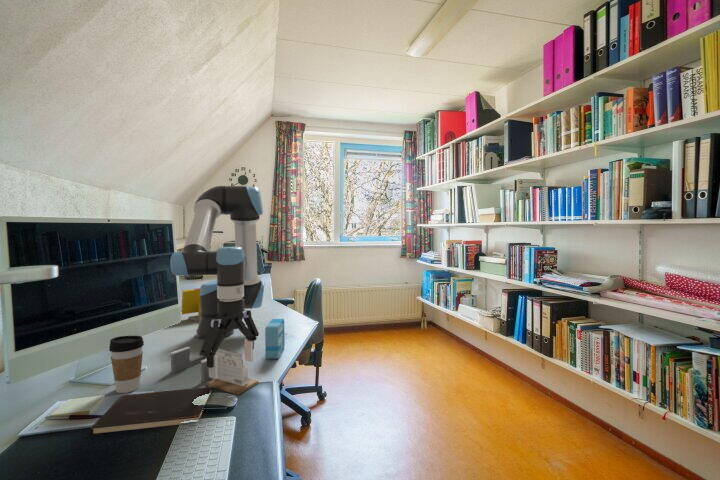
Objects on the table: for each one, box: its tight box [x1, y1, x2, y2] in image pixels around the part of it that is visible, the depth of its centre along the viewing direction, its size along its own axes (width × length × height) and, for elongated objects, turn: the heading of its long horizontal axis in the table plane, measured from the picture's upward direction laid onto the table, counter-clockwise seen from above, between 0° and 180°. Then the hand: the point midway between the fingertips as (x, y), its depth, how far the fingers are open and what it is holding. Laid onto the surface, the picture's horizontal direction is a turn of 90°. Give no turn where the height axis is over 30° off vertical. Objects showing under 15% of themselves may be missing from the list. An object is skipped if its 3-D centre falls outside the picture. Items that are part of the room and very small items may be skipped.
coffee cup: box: [108, 335, 145, 394], centre depth 102 cm, size 8×8×15 cm
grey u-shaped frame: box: [169, 346, 244, 383], centre depth 117 cm, size 16×16×6 cm
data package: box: [264, 318, 286, 360], centre depth 129 cm, size 12×4×12 cm, turn 1°
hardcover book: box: [90, 386, 213, 435], centre depth 90 cm, size 16×23×2 cm
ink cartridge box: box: [216, 348, 249, 386], centre depth 105 cm, size 2×11×10 cm, turn 63°
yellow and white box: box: [180, 287, 201, 322], centre depth 178 cm, size 20×8×16 cm, turn 130°
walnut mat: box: [205, 377, 259, 395], centre depth 105 cm, size 13×8×1 cm, turn 63°
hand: (232, 368), depth 105 cm, fingers open, 13 cm apart
